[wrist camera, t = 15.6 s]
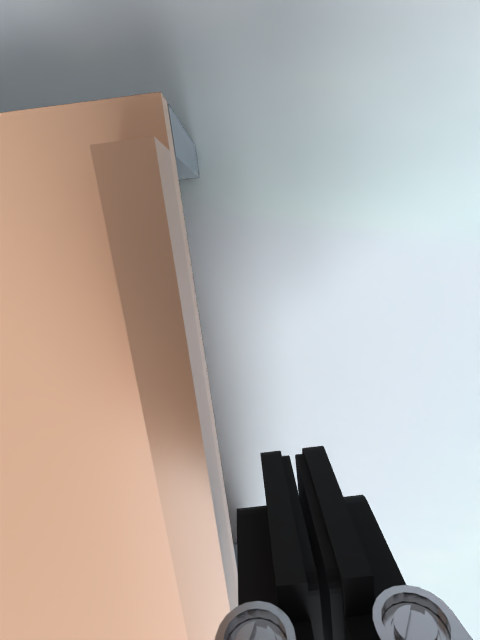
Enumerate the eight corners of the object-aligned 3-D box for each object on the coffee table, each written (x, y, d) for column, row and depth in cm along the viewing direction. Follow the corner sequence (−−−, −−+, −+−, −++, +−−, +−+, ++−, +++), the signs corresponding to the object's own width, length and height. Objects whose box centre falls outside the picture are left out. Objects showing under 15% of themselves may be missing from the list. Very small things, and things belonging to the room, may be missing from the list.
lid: (166, 101, 10) (142, 63, 7) (258, 714, 15) (263, 817, 12) (-242, 154, 10) (-403, 135, 7) (-10, 740, 15) (-59, 845, 13)
